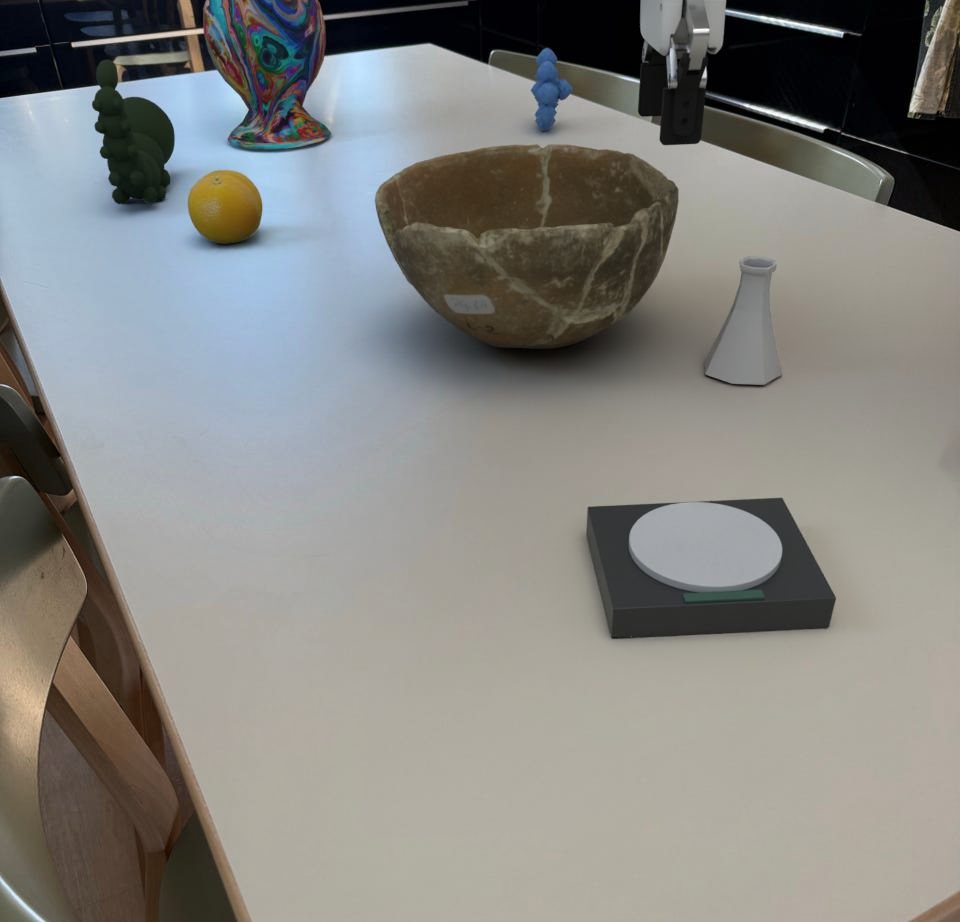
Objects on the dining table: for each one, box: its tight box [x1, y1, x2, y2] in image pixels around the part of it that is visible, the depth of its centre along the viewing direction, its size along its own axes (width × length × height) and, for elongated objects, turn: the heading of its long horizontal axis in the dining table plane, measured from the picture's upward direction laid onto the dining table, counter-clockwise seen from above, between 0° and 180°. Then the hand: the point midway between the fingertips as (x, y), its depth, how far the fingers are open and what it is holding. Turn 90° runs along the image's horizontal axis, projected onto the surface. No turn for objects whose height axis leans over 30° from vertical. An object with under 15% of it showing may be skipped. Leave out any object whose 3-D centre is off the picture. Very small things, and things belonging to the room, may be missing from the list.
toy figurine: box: [91, 59, 176, 205], centre depth 137 cm, size 9×19×25 cm
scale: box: [585, 497, 837, 639], centre depth 68 cm, size 14×12×3 cm
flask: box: [703, 255, 782, 386], centre depth 91 cm, size 7×7×10 cm
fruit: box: [187, 169, 264, 245], centre depth 124 cm, size 9×8×8 cm
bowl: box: [374, 143, 680, 350], centre depth 96 cm, size 28×27×15 cm
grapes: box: [530, 47, 574, 132], centre depth 161 cm, size 12×7×12 cm, turn 179°
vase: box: [202, 0, 332, 151], centre depth 155 cm, size 18×18×30 cm
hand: (667, 128), depth 84 cm, fingers open, 9 cm apart
